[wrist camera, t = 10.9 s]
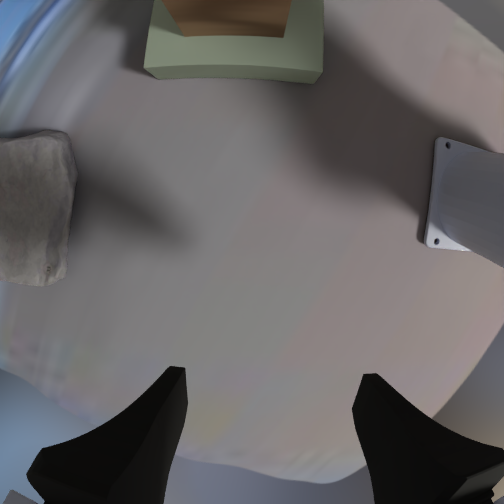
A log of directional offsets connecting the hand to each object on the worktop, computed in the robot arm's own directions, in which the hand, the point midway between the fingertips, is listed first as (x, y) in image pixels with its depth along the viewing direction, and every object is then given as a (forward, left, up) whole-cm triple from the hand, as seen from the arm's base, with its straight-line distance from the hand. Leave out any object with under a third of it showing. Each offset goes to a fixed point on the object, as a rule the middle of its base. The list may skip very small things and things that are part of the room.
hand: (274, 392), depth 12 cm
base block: (+3, -19, -10) cm, 22 cm away
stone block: (+18, -5, -11) cm, 22 cm away
